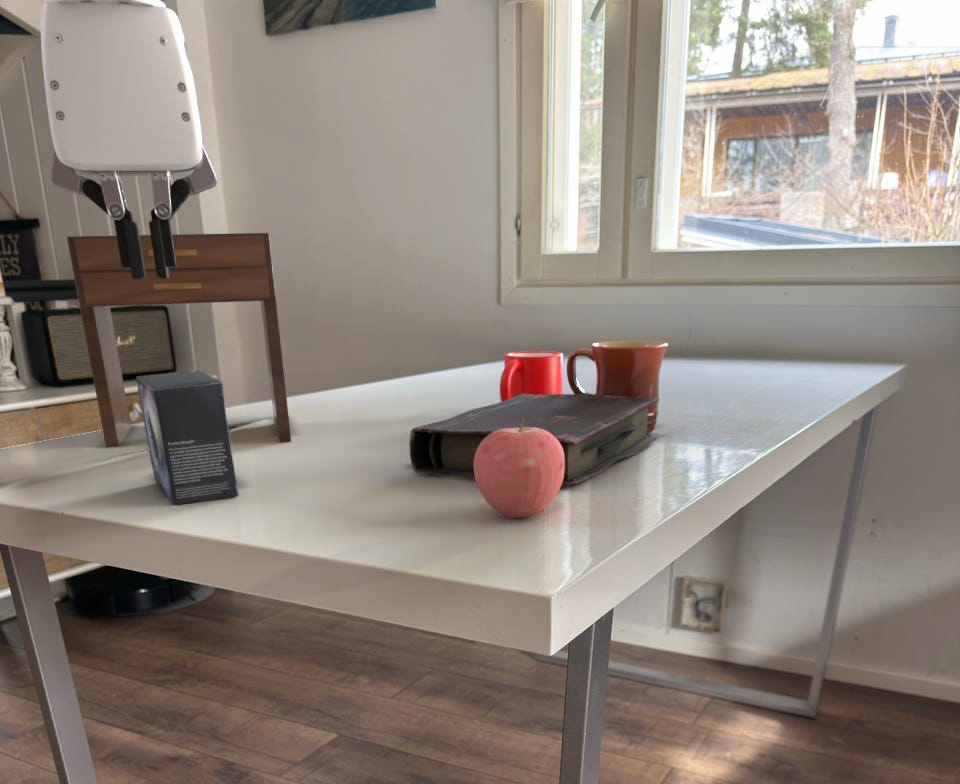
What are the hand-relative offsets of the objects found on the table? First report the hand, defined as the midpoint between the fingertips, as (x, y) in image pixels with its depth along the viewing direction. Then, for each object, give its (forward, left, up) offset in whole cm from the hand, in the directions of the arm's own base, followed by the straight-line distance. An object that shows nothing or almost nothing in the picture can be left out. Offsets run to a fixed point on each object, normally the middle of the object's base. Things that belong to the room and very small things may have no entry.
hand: (151, 277), depth 68 cm
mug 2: (+21, +51, -19) cm, 58 cm away
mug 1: (+6, +59, -19) cm, 62 cm away
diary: (+19, +34, -19) cm, 43 cm away
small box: (-7, +9, -19) cm, 22 cm away
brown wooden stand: (-26, +31, -19) cm, 45 cm away
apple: (+26, +12, -19) cm, 34 cm away
